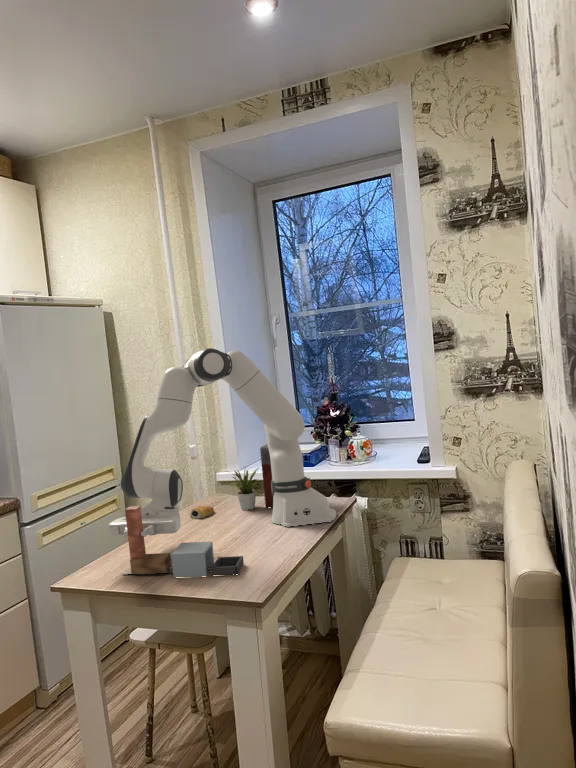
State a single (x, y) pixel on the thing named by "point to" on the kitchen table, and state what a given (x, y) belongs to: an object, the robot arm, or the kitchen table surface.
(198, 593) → the kitchen table surface
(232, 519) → the kitchen table surface
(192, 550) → the tunnel
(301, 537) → the kitchen table surface
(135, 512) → the upright post on base
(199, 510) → the pastry
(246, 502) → the house plant
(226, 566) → the dark grey tray
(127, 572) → the rail
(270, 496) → the toy vending machine
